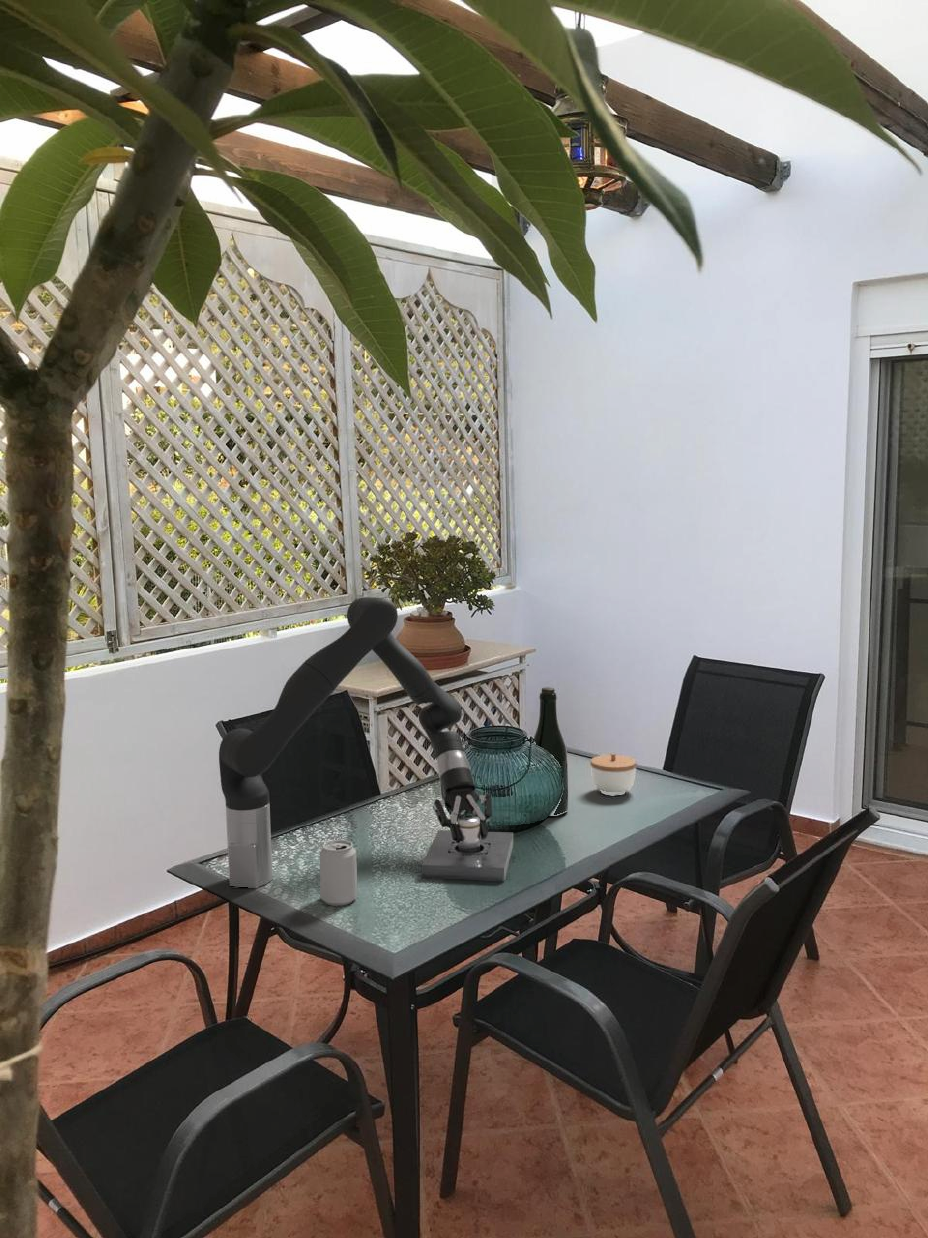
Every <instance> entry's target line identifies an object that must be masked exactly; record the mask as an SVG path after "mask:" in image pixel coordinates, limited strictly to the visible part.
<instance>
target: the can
mask: <svg viewBox="0 0 928 1238" xmlns="http://www.w3.org/2000/svg"><path fill="white" fill-rule="evenodd" d="M321 846H322V849H321V850H320V851H319V853H318V854H319V874H320V875H319V876H320V881H319V882H320V898H321V900H322V901H324V902H325V903H326V904H327V905H329V906H334V907H339V906H340V907H341V906H345V905H349V904H351V903H353V901H354V900H355V899H356V898H357V897H358V872H357V871H358V870H357V849H356V848H354V847H353V846H354V844H353V842H352V841H349V840H346V839H333V840H329V841H327V842H325V843H323V844H322V845H321Z"/></svg>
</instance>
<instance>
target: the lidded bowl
mask: <svg viewBox="0 0 928 1238" xmlns="http://www.w3.org/2000/svg"><path fill="white" fill-rule="evenodd" d="M636 770H637V761H636V759H634V758H632V757H630V756H627V755H621V754H620V755H619V754H616V753H614V752H613V753H610V754H603V755H597V756H594V757H592V758H591V759H590V775H591V779H592V782H593V785H594V786H595V788H596V789H597V790H598V789H599V790H602V791H606V792H622V791H627V790H628V791H630V789H631V788H632V787H633V785H634V783H635V779H636V772H637V771H636ZM599 790H598V791H599ZM628 791H627V792H628Z"/></svg>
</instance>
